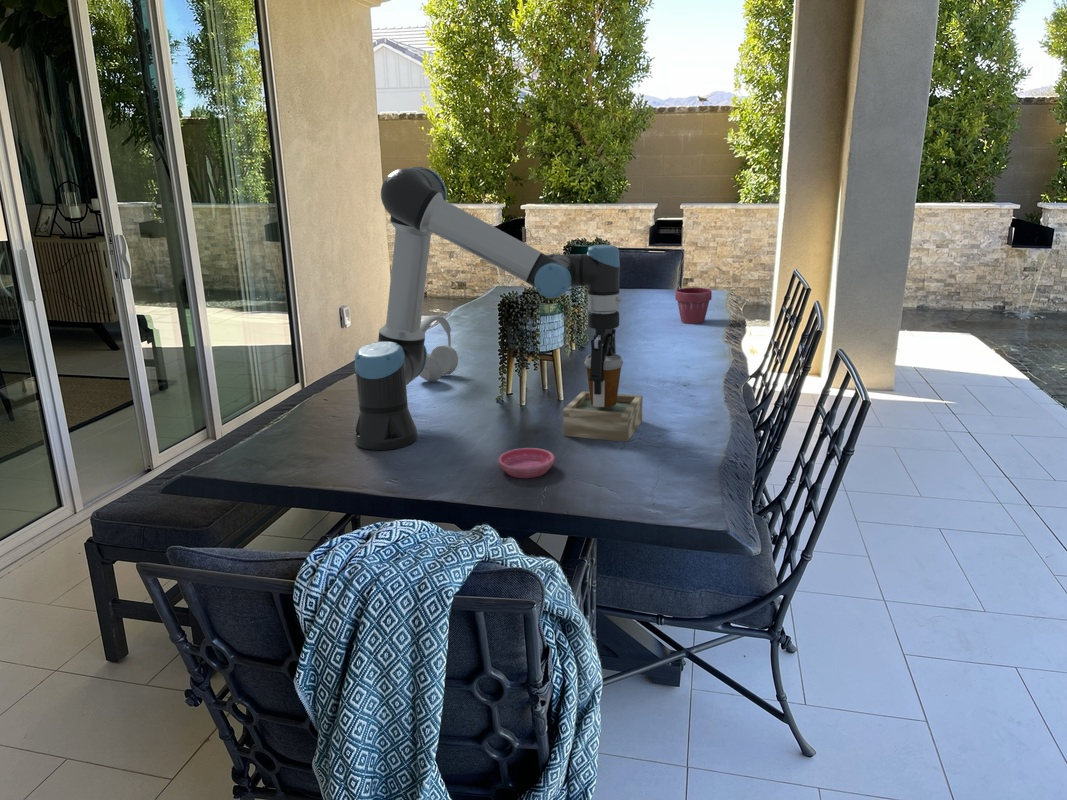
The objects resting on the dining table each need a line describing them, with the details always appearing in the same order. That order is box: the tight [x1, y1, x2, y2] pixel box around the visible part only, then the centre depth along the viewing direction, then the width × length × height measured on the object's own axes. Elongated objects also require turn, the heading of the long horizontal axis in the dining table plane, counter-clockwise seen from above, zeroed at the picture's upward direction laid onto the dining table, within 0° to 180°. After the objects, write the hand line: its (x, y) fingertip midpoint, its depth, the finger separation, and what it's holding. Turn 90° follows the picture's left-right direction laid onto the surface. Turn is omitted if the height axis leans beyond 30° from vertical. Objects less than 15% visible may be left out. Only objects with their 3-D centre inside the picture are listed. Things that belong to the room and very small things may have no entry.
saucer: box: [497, 447, 556, 479], centre depth 176 cm, size 12×12×3 cm
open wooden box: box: [562, 390, 643, 443], centre depth 200 cm, size 16×16×7 cm
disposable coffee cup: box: [583, 353, 624, 407], centre depth 197 cm, size 10×10×12 cm
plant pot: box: [674, 287, 713, 325], centre depth 318 cm, size 14×14×13 cm
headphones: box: [418, 314, 459, 383], centre depth 246 cm, size 19×9×20 cm, turn 154°
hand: (603, 400), depth 199 cm, fingers closed on disposable coffee cup, 8 cm apart
